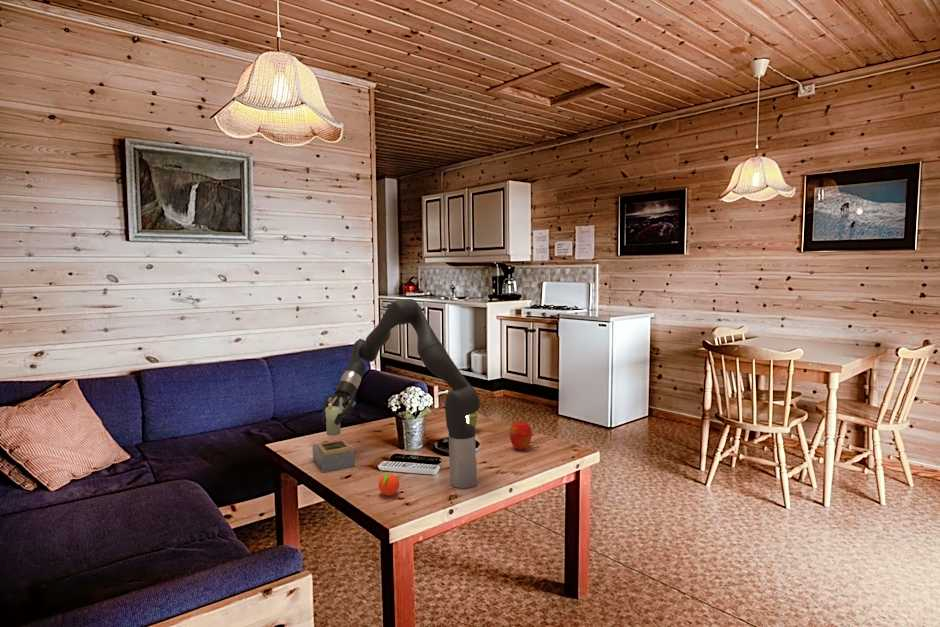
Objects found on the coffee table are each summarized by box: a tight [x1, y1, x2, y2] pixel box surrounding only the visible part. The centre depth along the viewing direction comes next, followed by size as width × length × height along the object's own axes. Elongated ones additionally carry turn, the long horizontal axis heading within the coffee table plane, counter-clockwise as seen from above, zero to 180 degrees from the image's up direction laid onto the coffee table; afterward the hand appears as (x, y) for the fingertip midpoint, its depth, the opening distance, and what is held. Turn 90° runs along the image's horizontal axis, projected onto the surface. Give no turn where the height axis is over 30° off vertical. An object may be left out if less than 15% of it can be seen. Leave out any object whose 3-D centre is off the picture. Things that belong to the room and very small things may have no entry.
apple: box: [508, 420, 533, 451], centre depth 231 cm, size 9×9×12 cm
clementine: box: [378, 473, 400, 497], centre depth 190 cm, size 8×7×7 cm
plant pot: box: [470, 411, 479, 429], centre depth 254 cm, size 9×9×9 cm
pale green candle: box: [325, 403, 342, 437], centre depth 217 cm, size 5×5×12 cm
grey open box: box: [311, 439, 356, 474], centre depth 220 cm, size 16×12×8 cm
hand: (330, 422), depth 216 cm, fingers closed on pale green candle, 5 cm apart
